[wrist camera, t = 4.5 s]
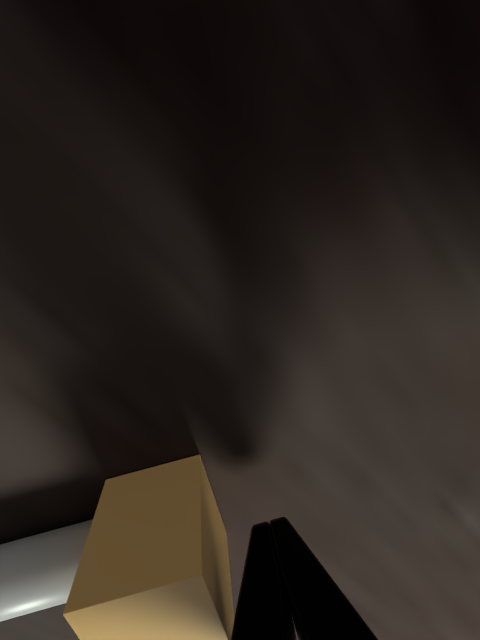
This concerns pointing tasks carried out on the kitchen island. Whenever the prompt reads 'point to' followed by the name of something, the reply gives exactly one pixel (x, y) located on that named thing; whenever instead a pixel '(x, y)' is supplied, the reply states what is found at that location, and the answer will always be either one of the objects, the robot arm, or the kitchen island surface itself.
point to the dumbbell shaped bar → (131, 562)
